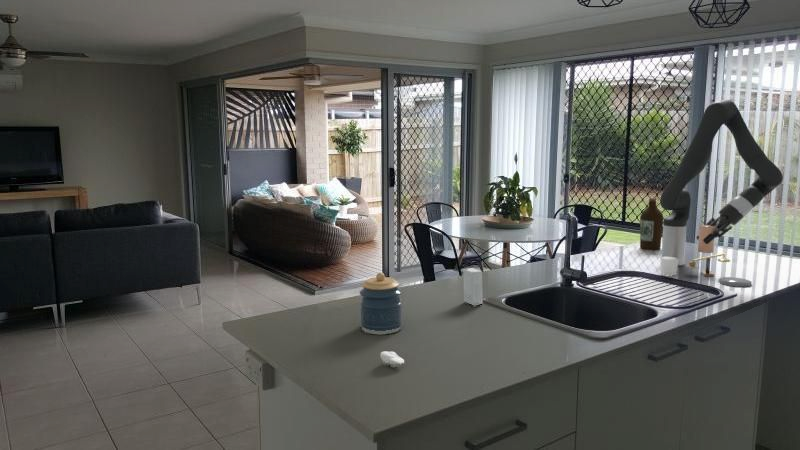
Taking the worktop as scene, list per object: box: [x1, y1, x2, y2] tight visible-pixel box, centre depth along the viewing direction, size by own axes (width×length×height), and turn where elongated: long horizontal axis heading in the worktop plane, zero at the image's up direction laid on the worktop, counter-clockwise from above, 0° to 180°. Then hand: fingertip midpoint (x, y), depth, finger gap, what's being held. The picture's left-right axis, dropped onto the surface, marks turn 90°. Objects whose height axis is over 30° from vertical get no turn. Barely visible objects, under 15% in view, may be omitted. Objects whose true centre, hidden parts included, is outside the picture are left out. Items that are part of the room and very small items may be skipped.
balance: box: [685, 252, 731, 277], centre depth 241 cm, size 5×16×9 cm, turn 78°
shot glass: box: [659, 256, 679, 276], centre depth 243 cm, size 7×7×7 cm
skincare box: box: [462, 267, 484, 305], centre depth 205 cm, size 6×4×12 cm
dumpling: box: [380, 350, 405, 366], centre depth 152 cm, size 7×5×4 cm
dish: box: [718, 276, 752, 288], centre depth 228 cm, size 11×11×1 cm
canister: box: [359, 272, 403, 331], centre depth 180 cm, size 13×13×18 cm
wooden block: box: [697, 224, 715, 254], centre depth 229 cm, size 5×5×10 cm
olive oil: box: [639, 198, 664, 251], centre depth 295 cm, size 11×11×25 cm
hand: (701, 240), depth 229 cm, fingers closed on wooden block, 5 cm apart
